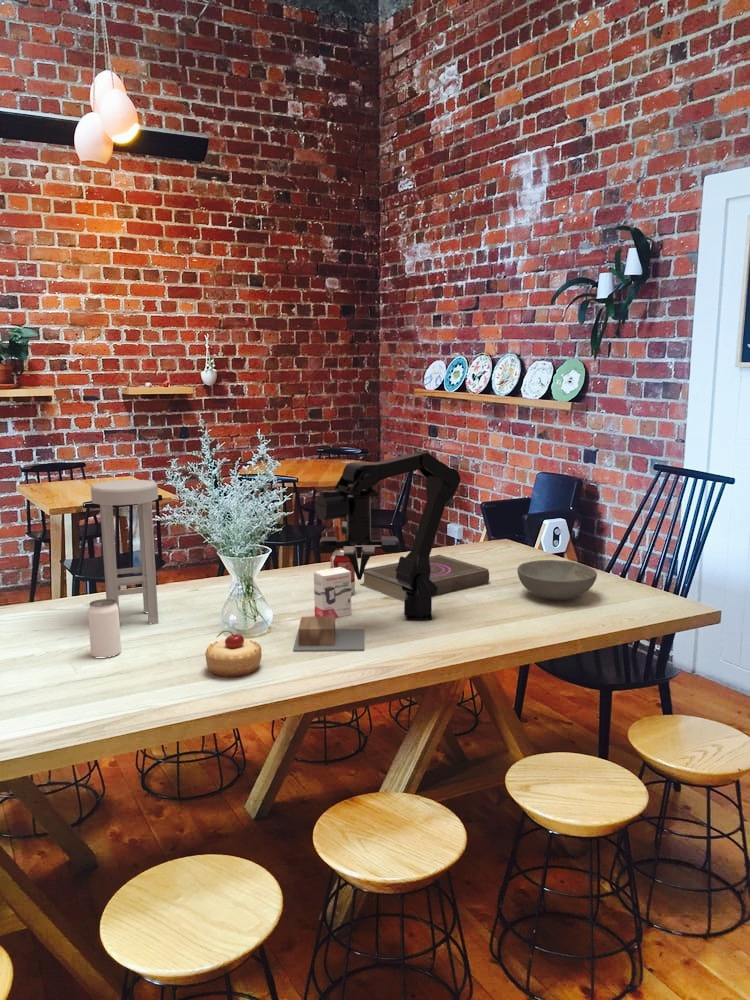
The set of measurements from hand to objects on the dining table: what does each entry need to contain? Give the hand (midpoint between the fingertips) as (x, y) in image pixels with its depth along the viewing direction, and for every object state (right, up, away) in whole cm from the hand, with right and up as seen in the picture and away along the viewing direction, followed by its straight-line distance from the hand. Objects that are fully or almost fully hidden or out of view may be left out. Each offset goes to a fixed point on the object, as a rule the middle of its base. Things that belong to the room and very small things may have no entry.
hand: (359, 579), depth 192 cm
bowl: (+54, -8, +27) cm, 61 cm away
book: (+18, -6, +41) cm, 45 cm away
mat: (-7, -14, -6) cm, 16 cm away
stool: (-58, -12, +10) cm, 60 cm away
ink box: (-7, -11, +13) cm, 18 cm away
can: (-57, -16, -13) cm, 60 cm away
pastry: (-26, -17, -22) cm, 39 cm away
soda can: (-5, -7, +32) cm, 33 cm away
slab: (-6, -11, -6) cm, 14 cm away
